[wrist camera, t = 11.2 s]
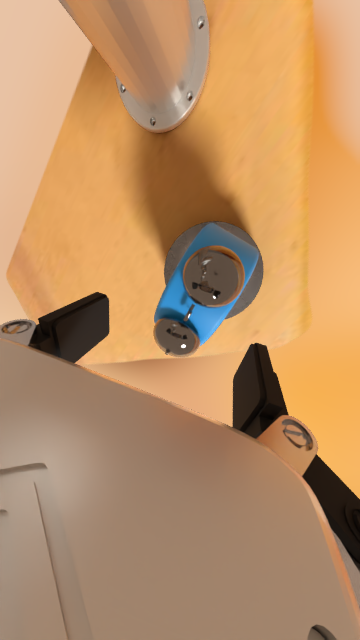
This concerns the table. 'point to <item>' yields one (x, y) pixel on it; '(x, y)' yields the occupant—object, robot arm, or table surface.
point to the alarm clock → (202, 290)
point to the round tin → (257, 275)
